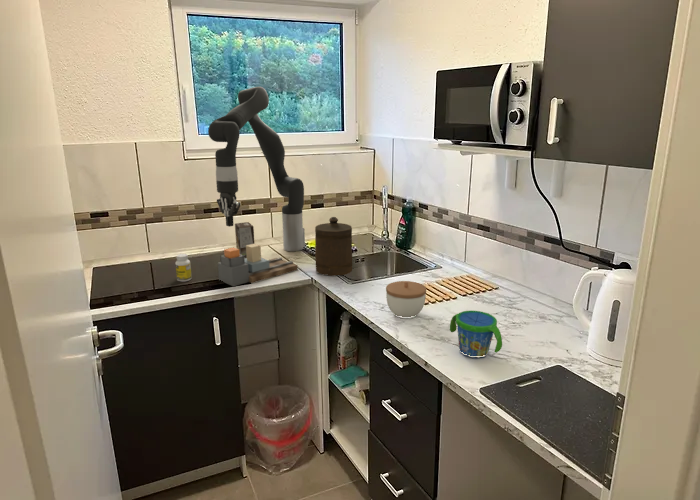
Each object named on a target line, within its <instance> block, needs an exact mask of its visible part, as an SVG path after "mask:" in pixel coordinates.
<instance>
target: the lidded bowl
mask: <svg viewBox="0 0 700 500" xmlns="http://www.w3.org/2000/svg"><path fill="white" fill-rule="evenodd" d="M385 287H386V288H385V292H386V297H385V298H386V302H387V306H388V309H389V310H390V311H391V312H392V313H393V315H394V314H395V315H397V316H402V317H411V316H415V315H416V316H417V315H419V313H421V311H423V308H424V306H425V303H426V295H427V294H426V293H427V287H426V285H424V284H421V282H416V281H411V280H410V281H409V280H398V281H393V282H390V283H388V284H387V285H386V286H385ZM395 315H394V316H395Z"/></svg>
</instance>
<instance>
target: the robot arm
mask: <svg viewBox="0 0 700 500" xmlns="http://www.w3.org/2000/svg"><path fill="white" fill-rule="evenodd" d="M269 97H270V96H269V94H268V92H267V90H266V89H265V88H264V87H263V86H254V87H250V88H246V89H242V90H240V91H238V94H237V101H238V103H239V104H238V105H236V106H235V107H233V108H232V109H231V110H229V111H228V112H227V113H226V115H223V116H221V117H219V118H216V119H214V120H212V122H211V123H210V124H209V126H208V128H207V129H208V130H207V134H208V137H209V138H210V140H211V141H213V142H216V143H227V144H226V146H225V148H219V149H217V150H215V180H216V181H215V182H216V192H217V193H218V194H219V199H218V198H217V199H216V203H217V205H218V208H219V210H220V212H221V214H223V216H224V217H225V225H226V226H227V227H233V226H234V216H235V215H238V213H239V210H240V208H241V205H242V204H241V202H238V201H237V195H236V193H238V192H239V181H238V179H239V178H238V168H237V156H236V155H237V147H238V143H239V139H240V134H241V133H240V131H241V129H242V128H243V127H244V126H245V125H246V124H247V123H249V125H250V127H251V129H252V130H253V133H254V135H255V138H256V140H257V142H258V145H259V148H260V150H261V152H262V154H263V156H264V158H265V160H266V163H267V165H268V167H269V170H270V172H271V175H272V178H273V180H274V184H275V187H276V190H277V192H278V194H279V195H280V196H281V197H283V198H288V202H287V204H286V205H283V206H282V207H281V219H282V220H281V221H282V241H283V250H284V251H287V252H298V251H302V250H303V249H304V248H303V247H305V248H306V238H305V237H306V236H305V234H306V232H305V227H304V226H303V225H304V223H303V208H304V203H305V200H304V199H305V187H304V182H303V180H301V179H300V178H297V177H290V176H289V174H288V173H287V170H286V168H285V155H286V151H285V146H284V145H283V142H282V139H281V138H280V135H279V134H278V132H276V131H275V130H273V128H272V127H270V126H269V125H267V124H266V123H265V122H264V121H263V120H262V119H261V118H260V116H259V113H260V112H262V111H264V110H266V109H267V108H268V107H269V103H270V98H269Z"/></svg>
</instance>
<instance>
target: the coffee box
mask: <svg viewBox="0 0 700 500" xmlns="http://www.w3.org/2000/svg"><path fill="white" fill-rule="evenodd" d="M254 231H255V229H254V226H253V225H252V223H250V221H248V222H247V221H246V222H238V223H234V232H235V234H234V235H235V243H236V246H235V248H237V249H239V253H240V254H241V255H243V256H244V259H245V258H247V255H246V245H250V244H255V232H254Z"/></svg>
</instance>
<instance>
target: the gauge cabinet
mask: <svg viewBox="0 0 700 500" xmlns="http://www.w3.org/2000/svg"><path fill="white" fill-rule="evenodd" d="M219 257H220V258H219V259H220V261H218V262H217V270H218V271H217V273H218V281H220V280H221V282H222V281H223V282H222V283H225V284H227V285H229V286H231V287H235V286H239V285H243V284H246V283H250V282H249V271H248V264H246V263H245V260H244V256H243V255H241V254H240V256H238V257H234V258H227V257H225V254H223V255H220V256H219Z"/></svg>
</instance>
